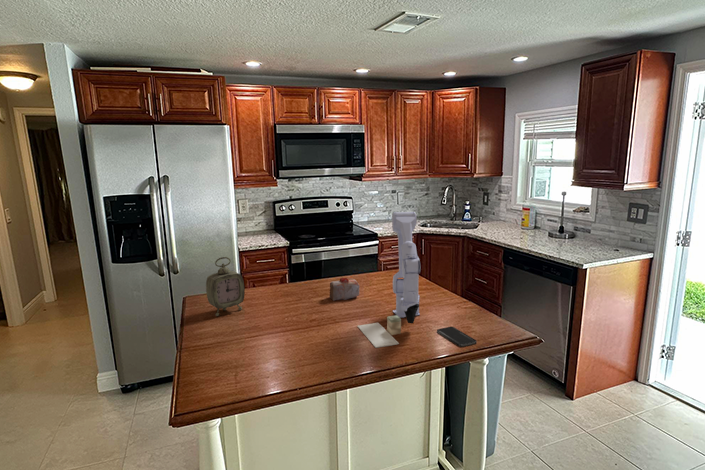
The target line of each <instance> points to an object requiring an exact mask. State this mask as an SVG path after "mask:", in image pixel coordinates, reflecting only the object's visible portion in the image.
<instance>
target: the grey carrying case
mask: <svg viewBox="0 0 705 470" xmlns="http://www.w3.org/2000/svg"><path fill="white" fill-rule="evenodd" d="M359 295H360V284H359V282H358V281H357V280H356V279H354V278H353V279H348V278H347V277H341V278H339V280H335V281H330V283H329V298H330V300H332V301H341V300H344V301H345V300H349V299H354V298H357V297H358V296H359Z"/></svg>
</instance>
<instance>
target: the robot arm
mask: <svg viewBox="0 0 705 470" xmlns="http://www.w3.org/2000/svg"><path fill="white" fill-rule="evenodd" d="M417 217H418V216H417V213H416V212H415V210H414V211H393V212H392V213H391V223H392V225H391V227H392V228H391V229H392V232H394V233H396V235H397V239H398V240H397V241H398V242H397V243H398V244H397V245H398V271H397V272H396V273H395V274H393V276H392V292H393V294H395V305H396V306H395V309H393V310H392V312H393V313H394V315H397V316H398V317H399V318H406V322H407V323H408V324H411V325H412V324H414V322H415V318H416V316H420V300H421V298H420V297H421V296H420V294H419V280H420V279H419V274H421V261H420V260H421V259H420V258H419V256H418V251H417V250H418V249H417V246H416V243H414V242H413V232H414V230H415V229H416V225H417V220H418V219H417Z"/></svg>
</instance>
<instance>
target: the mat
mask: <svg viewBox="0 0 705 470" xmlns="http://www.w3.org/2000/svg"><path fill="white" fill-rule="evenodd" d="M357 328H358V329H359V330H360V332H362V334H363V335H364V336H365V337H366V338H367V339H368V341H369V342H370V343H371V344H372V345H373V347H374V348H375V349H379V348H384V347H390V346H395V345H396V346H397V345H399V344H400V343H399V341H397V340H396V339H395V337H393V335H391V334H390V333H389V332H388V331H387V329H385V327H383V325H381V324H380V323H379V322H373V323H367V324H361V325H360V324H359V325H357Z"/></svg>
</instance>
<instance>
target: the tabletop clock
mask: <svg viewBox="0 0 705 470" xmlns="http://www.w3.org/2000/svg"><path fill="white" fill-rule="evenodd" d="M224 259H226V260H229V262H228V263H226V264H225V263H221V265H219V264H218V263H217V262H218V261H220V260H224ZM231 262H232V261H231V258H230V257H228V256H221V257H218V258H217V259H216V261H215V263H214V264H215V266H216V267H217V268H219V269H218V270H217V272H215V273H212V274H210V275H208V276H207V278H206V282H205V291H206V298H207V301H208V303H209V304H210V305H211V306H213V307H214V308H216V310H217V311H216V312H215V315H214V316H215V317H219V316H220V313H219V312H220V309H222V311H223V312H224V311H227V308H232V307H234V306H236V307H238V310H239V311H241V310H242V309H243V306H240V304H241V303H243V302H244V300H245V289H246V288H245V281H244V277H243V275H242V274H240V273H238V272H236V271H233V270H230V269H229V268H228V267H227V266H229V265H230V264H231Z"/></svg>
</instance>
